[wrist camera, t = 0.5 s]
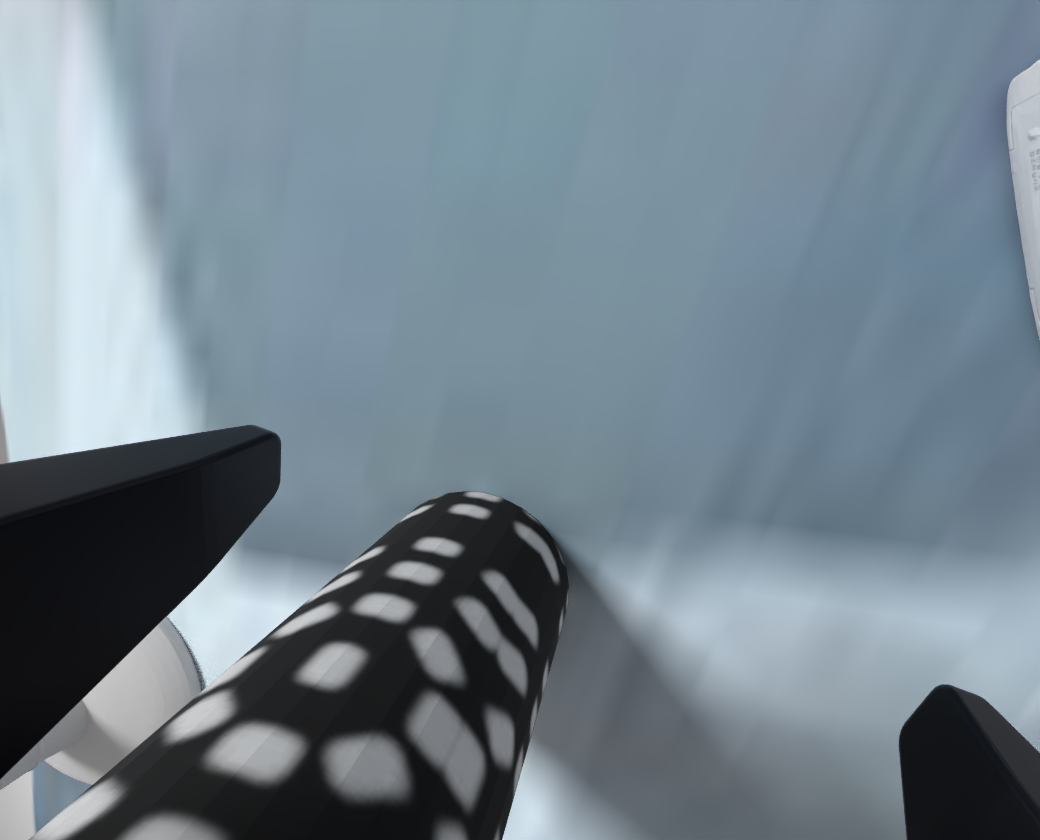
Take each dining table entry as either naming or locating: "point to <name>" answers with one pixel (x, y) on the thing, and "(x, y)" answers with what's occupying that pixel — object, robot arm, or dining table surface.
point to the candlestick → (119, 710)
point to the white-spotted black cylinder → (363, 700)
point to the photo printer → (1027, 170)
